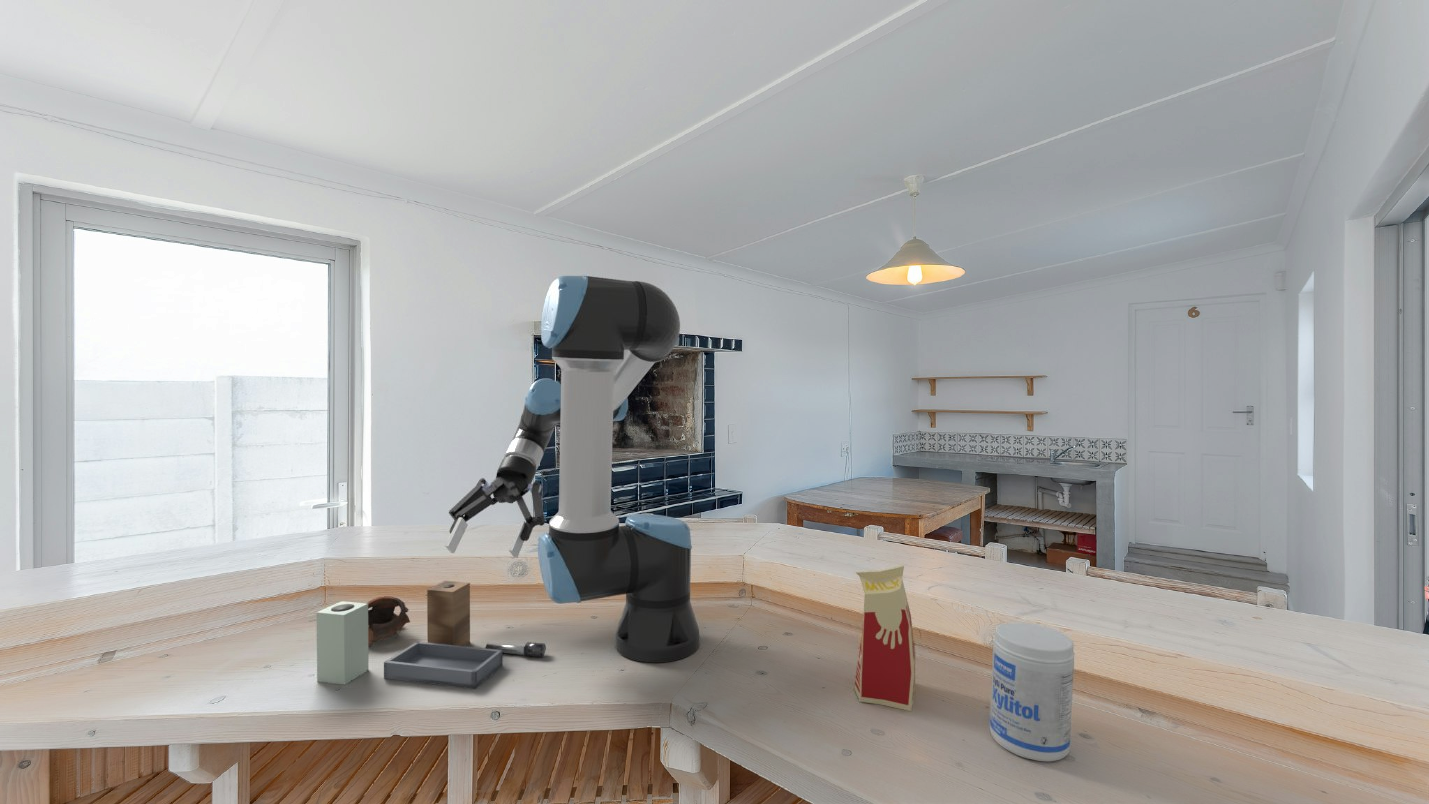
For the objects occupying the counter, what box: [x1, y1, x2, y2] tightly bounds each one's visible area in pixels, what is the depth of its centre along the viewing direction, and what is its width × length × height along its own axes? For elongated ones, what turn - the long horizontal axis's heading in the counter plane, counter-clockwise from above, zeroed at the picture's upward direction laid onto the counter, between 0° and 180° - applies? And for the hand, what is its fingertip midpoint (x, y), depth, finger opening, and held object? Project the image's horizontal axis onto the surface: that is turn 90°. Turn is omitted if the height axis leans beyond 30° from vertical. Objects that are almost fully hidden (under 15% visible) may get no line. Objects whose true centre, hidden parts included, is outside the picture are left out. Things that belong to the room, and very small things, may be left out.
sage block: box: [315, 600, 370, 685], centre depth 98 cm, size 5×5×11 cm
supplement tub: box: [989, 621, 1075, 762], centre depth 81 cm, size 10×10×15 cm
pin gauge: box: [484, 641, 547, 658], centre depth 107 cm, size 10×2×2 cm, turn 79°
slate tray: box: [383, 641, 504, 690], centre depth 100 cm, size 16×8×3 cm, turn 79°
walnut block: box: [426, 580, 471, 647], centre depth 109 cm, size 5×5×11 cm
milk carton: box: [853, 565, 916, 712], centre depth 95 cm, size 9×9×20 cm
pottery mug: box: [366, 595, 411, 648], centre depth 113 cm, size 12×10×8 cm
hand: (480, 552), depth 119 cm, fingers open, 13 cm apart
